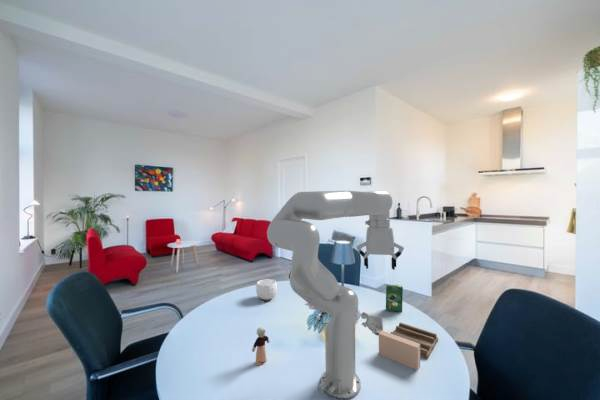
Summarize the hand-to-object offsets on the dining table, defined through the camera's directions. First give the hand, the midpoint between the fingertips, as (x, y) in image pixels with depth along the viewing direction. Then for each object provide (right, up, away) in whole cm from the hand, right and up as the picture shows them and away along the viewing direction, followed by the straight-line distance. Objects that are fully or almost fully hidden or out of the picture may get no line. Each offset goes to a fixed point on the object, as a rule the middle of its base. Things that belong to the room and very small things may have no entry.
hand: (379, 268), depth 98 cm
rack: (+15, -32, +7) cm, 36 cm away
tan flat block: (+6, -33, -4) cm, 33 cm away
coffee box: (+18, -32, +35) cm, 50 cm away
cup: (-50, -32, +52) cm, 79 cm away
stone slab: (+3, -33, +22) cm, 39 cm away
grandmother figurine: (-45, -33, -4) cm, 56 cm away
